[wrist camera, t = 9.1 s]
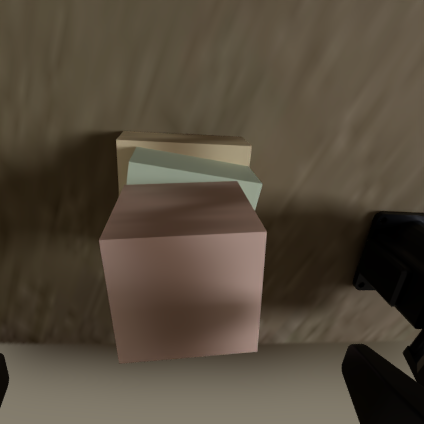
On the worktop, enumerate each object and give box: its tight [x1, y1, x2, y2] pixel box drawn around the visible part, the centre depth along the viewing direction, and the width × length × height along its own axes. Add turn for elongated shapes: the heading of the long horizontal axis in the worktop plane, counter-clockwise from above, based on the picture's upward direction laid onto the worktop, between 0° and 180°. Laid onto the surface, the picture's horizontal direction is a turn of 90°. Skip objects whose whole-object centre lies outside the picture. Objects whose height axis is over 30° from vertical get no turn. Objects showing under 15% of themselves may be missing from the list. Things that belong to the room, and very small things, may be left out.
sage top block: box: [127, 147, 262, 210], centre depth 16 cm, size 6×6×3 cm
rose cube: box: [99, 181, 267, 364], centre depth 13 cm, size 5×5×5 cm
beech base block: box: [116, 131, 252, 195], centre depth 19 cm, size 7×7×3 cm
